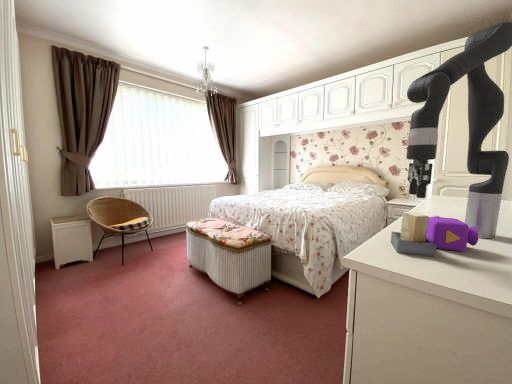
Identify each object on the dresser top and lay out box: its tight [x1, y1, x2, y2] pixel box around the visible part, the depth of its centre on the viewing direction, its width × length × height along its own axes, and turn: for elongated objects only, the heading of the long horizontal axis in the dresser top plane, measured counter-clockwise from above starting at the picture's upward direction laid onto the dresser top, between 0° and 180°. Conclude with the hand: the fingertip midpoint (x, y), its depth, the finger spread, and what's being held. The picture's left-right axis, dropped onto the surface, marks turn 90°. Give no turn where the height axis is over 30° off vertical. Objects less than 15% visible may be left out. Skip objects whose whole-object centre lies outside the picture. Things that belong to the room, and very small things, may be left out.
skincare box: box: [400, 211, 430, 243], centre depth 75 cm, size 6×4×12 cm
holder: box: [390, 231, 437, 258], centre depth 75 cm, size 10×10×4 cm
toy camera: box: [426, 214, 480, 252], centre depth 78 cm, size 11×14×10 cm
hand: (416, 196), depth 73 cm, fingers open, 7 cm apart
